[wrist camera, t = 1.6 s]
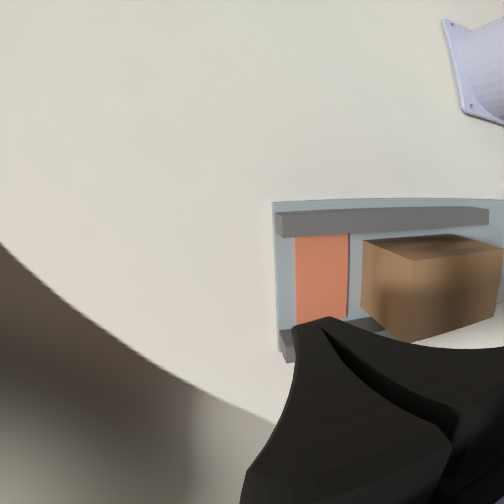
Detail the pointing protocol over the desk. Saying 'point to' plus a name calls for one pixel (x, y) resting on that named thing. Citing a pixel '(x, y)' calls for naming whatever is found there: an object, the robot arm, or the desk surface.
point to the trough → (358, 251)
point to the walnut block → (429, 283)
